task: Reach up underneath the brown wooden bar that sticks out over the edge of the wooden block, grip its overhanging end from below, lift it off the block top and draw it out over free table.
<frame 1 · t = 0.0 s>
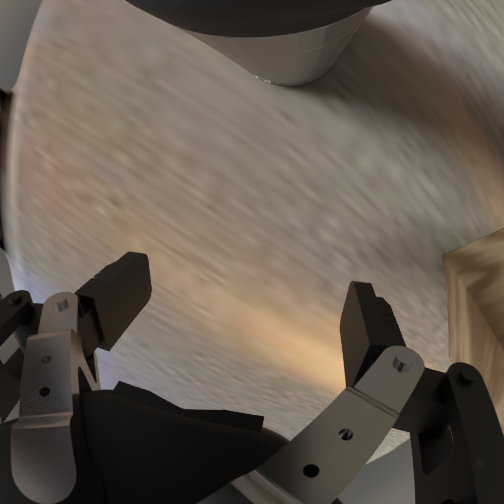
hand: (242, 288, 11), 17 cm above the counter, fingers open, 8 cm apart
wooden block: (501, 288, 26), on the counter
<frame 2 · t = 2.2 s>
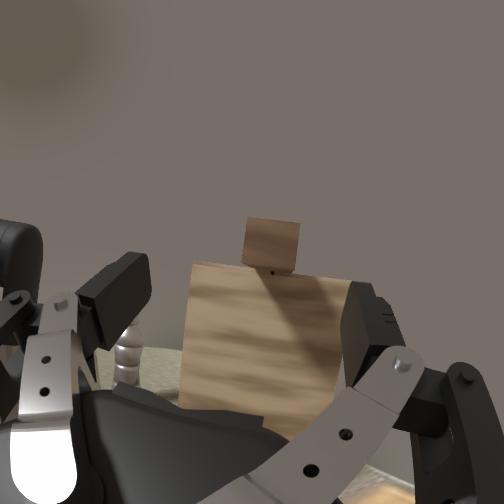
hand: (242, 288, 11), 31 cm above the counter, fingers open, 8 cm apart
brown wooden bar: (274, 272, 35), point 32 cm above the counter, touching wooden block
plastic bottle: (126, 401, 52), on the counter
wooden block: (245, 464, 38), on the counter
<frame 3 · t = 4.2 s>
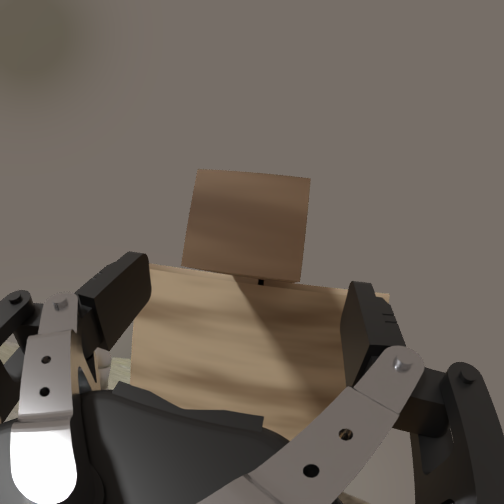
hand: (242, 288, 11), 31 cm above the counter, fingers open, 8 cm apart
brown wooden bar: (265, 280, 23), point 32 cm above the counter, touching wooden block
plastic bottle: (95, 427, 40), on the counter
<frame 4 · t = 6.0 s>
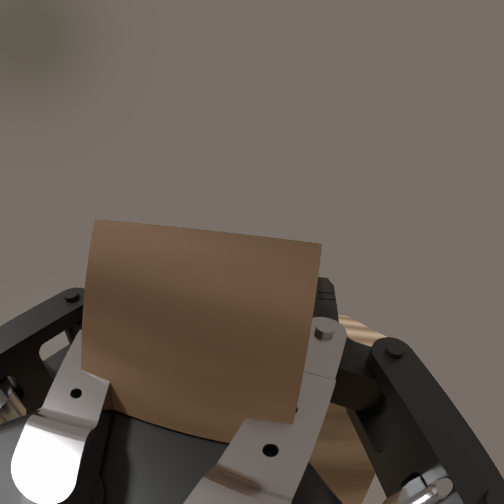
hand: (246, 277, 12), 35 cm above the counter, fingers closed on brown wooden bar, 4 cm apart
brown wooden bar: (254, 324, 18), point 32 cm above the counter, touching wooden block, gripper
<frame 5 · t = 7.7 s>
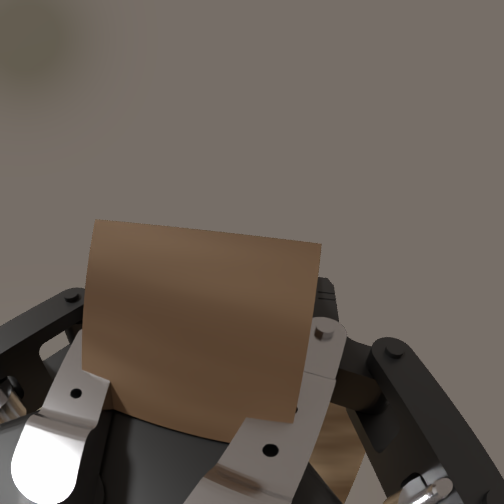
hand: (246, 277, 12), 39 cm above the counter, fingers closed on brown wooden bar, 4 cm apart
brown wooden bar: (254, 324, 18), point 36 cm above the counter, touching gripper
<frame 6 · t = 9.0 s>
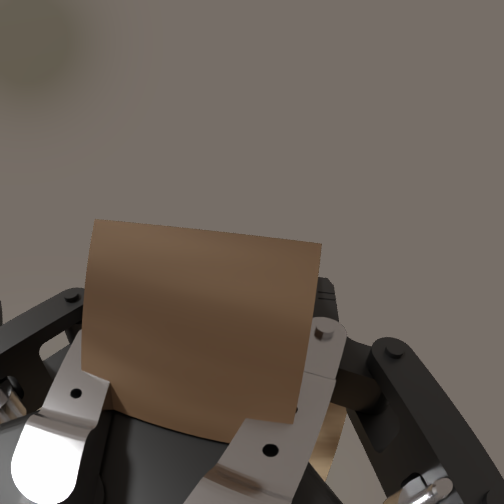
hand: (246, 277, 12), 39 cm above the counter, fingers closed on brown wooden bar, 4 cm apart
brown wooden bar: (254, 324, 18), point 36 cm above the counter, touching gripper
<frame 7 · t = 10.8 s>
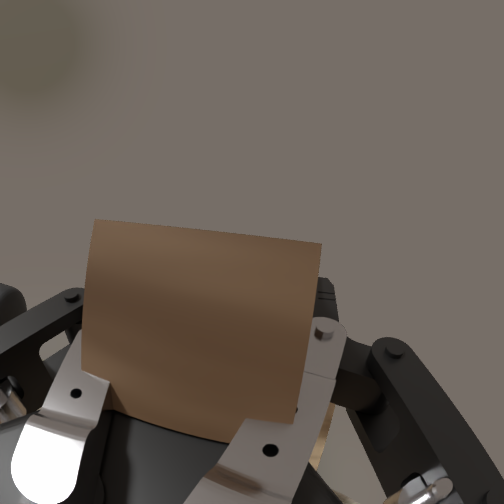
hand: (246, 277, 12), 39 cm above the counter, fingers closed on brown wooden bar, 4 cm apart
brown wooden bar: (254, 324, 18), point 36 cm above the counter, touching gripper
wooden block: (237, 503, 34), on the counter
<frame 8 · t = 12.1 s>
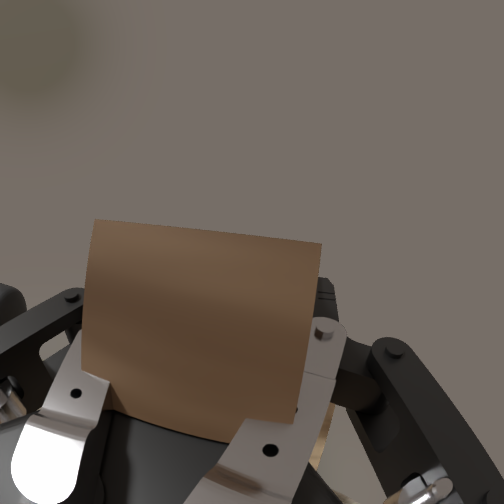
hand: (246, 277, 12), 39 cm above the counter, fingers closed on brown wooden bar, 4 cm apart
brown wooden bar: (254, 324, 18), point 36 cm above the counter, touching gripper
wooden block: (237, 503, 34), on the counter
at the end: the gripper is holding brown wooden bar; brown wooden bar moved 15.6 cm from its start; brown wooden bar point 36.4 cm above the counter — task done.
